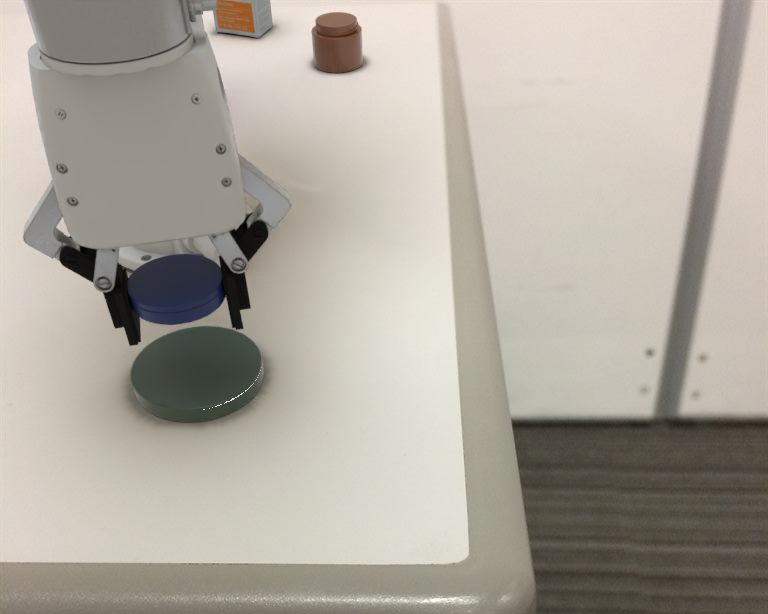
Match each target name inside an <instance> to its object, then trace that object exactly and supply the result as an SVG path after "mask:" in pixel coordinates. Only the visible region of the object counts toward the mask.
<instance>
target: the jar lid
mask: <svg viewBox="0 0 768 614" xmlns="http://www.w3.org/2000/svg"><path fill="white" fill-rule="evenodd" d="M127 293H128V296H129V299H130V303H131V306H132V309H133V311H134V312H135V313H136V314H137V315H138V316H139V317H140V319H141V320H144V321H146V322H149V323H150V324H155V325H163V326H174V325H176V326H177V325H183V324H188V323H189V324H190V323H193V322H196V321H199V320H201V319H204V318H207V317H208V316H210V315H211V314H213V313H215V312H216V311H217V310H218V309H219V308H220V307H221V306H222V304H223V303H224V301H225V299H226V293H225V288H224V283H223V278H222V272H221V267H220V266H219V265H218V264H217V263H216V262H214V261H213V260H211V259H209V258H206V257H203V256H199V255H192V254H176V255H169V256H164V257H160V258H157V259H154V260H151V261H149V262H147V263H145V264H143V265H141V266H140V267H138V268H137V269H136V270H135V271H134V270H133V272H131V274H130V275H129V276H128V280H127Z"/></svg>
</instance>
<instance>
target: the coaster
mask: <svg viewBox="0 0 768 614" xmlns="http://www.w3.org/2000/svg"><path fill="white" fill-rule="evenodd" d="M261 367H262V368H261ZM260 370H261V371H260ZM264 370H265V369H264V363H263V357H262V353H261V350H260V348H259V347H258V346H257V344H256V343H255V341H253V339H251V338H250V337H248V336H247V335H246V334H244V333H242V332H241V331H239V330H238V331H237V330H236V329H233V328H229V327H223V326H217V325H199V326H191V327H185V328H181V329H177V330H174V331H171V332H169V333H166V334H164V335H161V336H160V337H158V338H156V339H154V340H153V341H151V342H150V343H148V344H147V345H146V346H145V347H144V348H143V349H142V350H141V351H140V352H139V353H137V355H136V357H135V359H134V360H133V363H132V365H131V368H130V374H129V375H130V382H131V385H132V388H133V391H134V395H135V398H136V400H137V401H138V403H139V404H140V405H141V407H143V408H144V409H145V410H146V411H147V412H149V413H150V414H152V415H154V416H156V417H158V418H161V419H164V420H167V421H171V422H178V423H198V422H199V423H200V422H207V421H210V420H215V419H219V418H222V417H225V416H227V415H230V414H231V413H233V412H236V411H237V410H239V409H241V408H243V406H245V405H246V404H248V403H249V402H250V401H251V400H252V399H253V398H254V397H255V395H257V393H258V392H259V391H260V389H261V387H262V384H263V381H264V375H265V373H264V372H265V371H264ZM259 373H260V374H259ZM258 375H259V376H258ZM257 377H258V378H257ZM256 379H257V380H256ZM255 380H256V381H255ZM253 383H254V384H253ZM252 384H253V385H252ZM251 385H252V386H251ZM250 386H251V387H250ZM249 387H250V388H249ZM248 388H249V389H248ZM247 389H248V390H247ZM245 390H247V391H246V392H245ZM243 392H244V393H243ZM241 393H243V394H242V395H240V394H241ZM238 395H240V396H239V397H237V396H238ZM235 397H237V398H235ZM232 398H235V399H234V400H232V401H230V400H231V399H232ZM226 401H230V402H227V403H225V402H226ZM224 403H225V404H224ZM220 404H222V405H220ZM217 405H220V406H217ZM215 406H217V407H215ZM212 407H213V408H212ZM209 408H210V409H209ZM203 409H205V410H203Z"/></svg>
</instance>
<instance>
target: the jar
mask: <svg viewBox="0 0 768 614" xmlns="http://www.w3.org/2000/svg"><path fill="white" fill-rule="evenodd" d="M314 21H315V23H314V24H315V25H314V26H313V27H312V28H311V42H312V43H311V44H312V55H313V57H312V58H313V66H314V67H315V68H316V69H317V70H319V71H322V72H326V73H330V74H331V73H335V74H336V73H337V74H338V73H340V74H341V73H342V74H343V73H348V72H352V71H355V70H357V69H359V68H361V67H362V65H363V64H364V54H363V28H362V26H361V25H360V24H359V21H358V19H357V16H355V14H352V13H349V12H343V11H335V12H326V13H323V14H321V15H318V16H316V18H315V20H314Z"/></svg>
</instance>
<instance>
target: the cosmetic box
mask: <svg viewBox="0 0 768 614" xmlns="http://www.w3.org/2000/svg"><path fill="white" fill-rule="evenodd" d="M271 4H272V3H271V0H217V7H218V10H212V15H213V22H214V28H215V32H217V33H225V34H233V35H239V36H246V37H252V38H255V39H259V38H260V37H261V36H263V35H265V34H266V33H267V31H269V30H270V29H271V28H273V26H274V25H273V14H272V5H271Z"/></svg>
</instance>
